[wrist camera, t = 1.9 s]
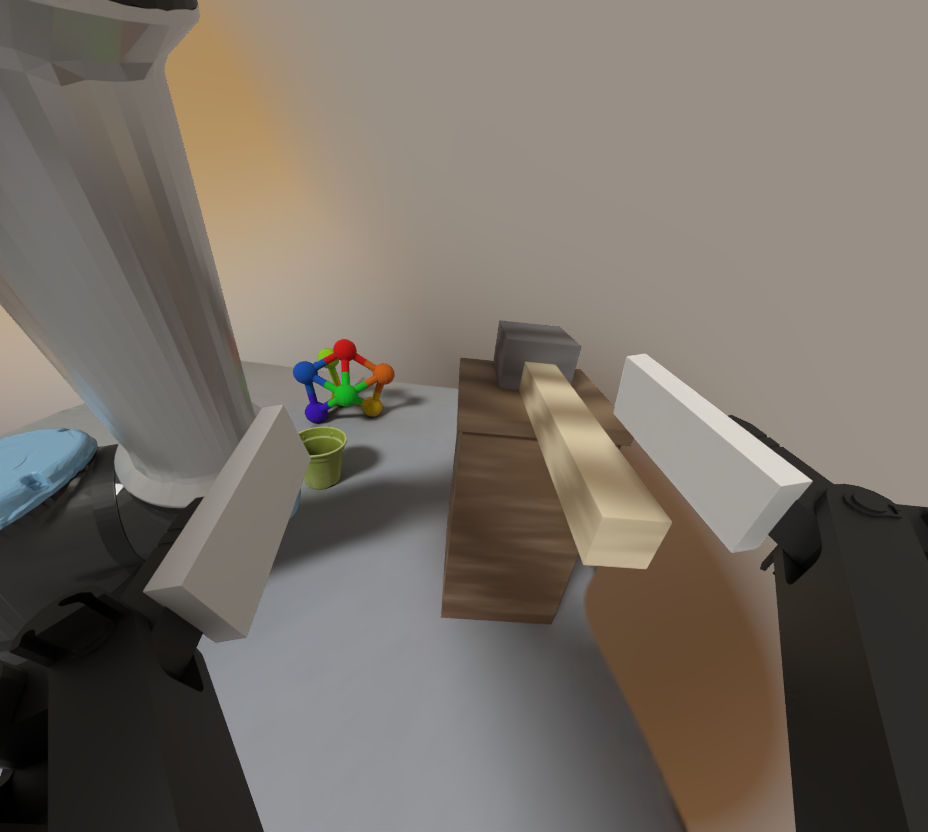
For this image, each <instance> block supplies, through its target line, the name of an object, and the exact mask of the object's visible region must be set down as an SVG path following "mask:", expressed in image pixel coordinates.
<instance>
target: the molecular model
mask: <svg viewBox="0 0 928 832" xmlns="http://www.w3.org/2000/svg"><path fill="white" fill-rule="evenodd" d="M352 359H353V360H355V361H356V362H358V363H360V364H361V365H363V366H365V367H367V368H368V369H370V370H371V371H373V376H372V377H371V378H369V379H367V380H365V381H363V382H362V383H360V384H358V385H356V386H354V387H353V386H351V385H350V377H349V361H351V360H352ZM339 360H341V361H342V362H341V365H342V385H341V383H340V380H339V377H338V374H337V371H336V368H335V366H336V365H337V364H338V362H339ZM323 367H325V368H328V369H329V372H330V375H331V377H332V380H333V383H334V384H332V383H330V382H329V381H327V380H325V379H323V378H322V377H320V376H318V372H317V370H319V369H321V368H323ZM293 375H294V377H295V379H296V380H297V381H298V382H300V383H303V384H305V387H306V391H307V394H308V398H309V401H310V404H309V405H308V406H307V407H306V409H305V415H306V417H307V419H308V420H309V421H311V422H313V423H319V422H322V421H324V420H325V419H326V417H327V415H328V410H329V409H331V408H332V407H334V406H336V405H340V406H345V407H348V406H351V405H353V404H356V405H359V406H362V409H363V411H364V413H365V414H366V415H368V416H372V417H373V416H377V415H379V414H380V413H381V411H382V408H383V406H382V403H381V401H380V400H379V397H380V394H381V391H382V388H383V386H384V385H386V384H389V383H390V382H392V380H393V378H394V370H393V368H392V367H391V366H389V365H388V364H379V365H377V366H376V365H375V364H373V363H371V362H370V361H368V360H367V359H365V358H363V357H362V356H360V355H358V354H357V353H356V347H355V345H354V343H353V342H351V341H349V340H346V339H342V340H339V341H337V342H336V343H335V345H334V348H333V349H330V348H325V349H323V350H321V351H320V352H319V354H318V361H317V362H315V363H313V364H312V363H310V362H307V361H303V362H299V363H298V364H296V366H295V367H294V369H293ZM312 382H315V383H317V384H319V385H321V386H323V387H324V388H326V389H328V390H330V391H331V392H332V395H331V398H332V399H330V400H329V401H327V402H325V403H324V404H323V403H321V402H318V401H317V398H316V394H315V390H314V387H313V383H312ZM376 382H377V384H376V387H375V390H374V393H373V396H372V397H369V398H367V399H366V400H364V399H362V398H360V397H358V394H357V393H359V392H361V391H362V390H364V389H366V388H368V387H369V386H371V385H373V384H374V383H376Z"/></svg>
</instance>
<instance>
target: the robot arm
mask: <svg viewBox="0 0 928 832" xmlns="http://www.w3.org/2000/svg"><path fill="white" fill-rule="evenodd" d="M199 18H200V13H199V7H198V2H197V0H0V305H1V306H2V307H3V308H4V309H5V310H6V312H7V313H8V314H9V315H10V316H11V317H12V318H13V320H14V321H15V322H16V323H17V324H18V325H19V327H20V328H21V329H22V330H23V331H24V332H25V333H26V335H27V336H28V337H29V338H30V339H31V341H32V342H33V343H34V344H35V345H36V346H37V347H38V349H39V350H40V351H41V352H42V353H43V354H44V356H45V357H46V358H47V359H48V360H49V361H50V363H51V364H52V365H53V366H54V367H55V368H56V369H57V371H58V372H59V373H60V374H61V375H62V376H63V378H64V379H65V380H66V381H67V382H68V383H69V385H70V386H71V387H72V388H73V389H74V390H75V392H76V393H77V394H78V395H79V396H80V397H81V398H82V400H83V401H84V402H85V403H86V404H87V406H88V407H89V408H90V409H91V410H92V411H93V412H94V414H95V415H96V416H97V417H98V418H99V419H100V421H101V422H102V423H103V424H104V425H105V426H106V428H107V429H108V430H109V431H110V432H111V433H112V435H113V436H114V437H115V438H116V439H117V440H118V441H119V444H115V445H109V446H102V447H98V445H97V441H96V440H95V439H94V438H92V437H90V436H89V435H88V434H87V433H85V432H83V431H81V430H77V429H71V430H70V429H66V428H52V429H43V430H36V431H30V432H25V433H21V434H16V435H12V436H8V437H4V438H0V768H1V769H3V770H2V773H1V776H0V832H264V830H263V828H262V825H261V822H260V819H259V816H258V813H257V810H256V807H255V805H254V802H253V799H252V796H251V793H250V790H249V787H248V784H247V782H246V779H245V776H244V773H243V770H242V767H241V764H240V761H239V758H238V756H237V753H236V750H235V747H234V744H233V741H232V738H231V735H230V733H229V730H228V727H227V724H226V721H225V718H224V715H223V712H222V710H221V707H220V704H219V701H218V698H217V695H216V692H215V689H214V687H213V684H212V681H211V678H210V675H209V672H208V669H207V666H206V663H205V661H204V658H203V655H202V654H201V652H200V651H199V650H198V649H197V648H196V647H197V645H198V643H199V641H200V639H201V636H202V634H204V635H205V636H207V637H208V638H210V639H211V640H212V641H214V642H215V643H218V642H223V641H229V640H235V639H241V638H246V637H247V635H248V632H249V629H250V626H251V623H252V621H253V618H254V615H255V612H256V610H257V607H258V604H259V601H260V599H261V596H262V593H263V590H264V587H265V585H266V582H267V579H268V576H269V574H270V571H271V568H272V565H273V562H274V560H275V557H276V554H277V551H278V549H279V546H280V543H281V540H282V538H283V535H284V532H285V529H286V526H287V524H288V521H289V519H290V518H291V517H293V516H294V515H295V513H296V512H297V510H298V508H299V505H300V498H301V485H302V482H303V479H304V477H305V474H306V471H307V468H308V465H309V463H310V460H311V457H310V455H309V453H308V451H307V449H306V447H305V446H304V444H303V442H302V440H301V438H300V436H299V434H298V432H297V430H296V428H295V426H294V424H293V422H292V420H291V418H290V416H289V414H288V412H287V410H286V408H285V407H284V405H277V406H270V407H263V408H260V407H259V406H257V405H255V404H254V403H252V402H251V399H250V395H249V391H248V388H247V384H246V380H245V376H244V372H243V369H242V365H241V361H240V358H239V353H238V350H237V346H236V342H235V338H234V334H233V331H232V327H231V323H230V319H229V315H228V312H227V308H226V304H225V300H224V297H223V293H222V289H221V285H220V281H219V278H218V274H217V270H216V266H215V262H214V258H213V255H212V251H211V247H210V243H209V239H208V236H207V232H206V228H205V224H204V220H203V217H202V213H201V209H200V206H199V202H198V198H197V194H196V190H195V187H194V183H193V179H192V175H191V171H190V167H189V164H188V160H187V156H186V152H185V148H184V145H183V141H182V137H181V134H180V129H179V125H178V122H177V118H176V114H175V111H174V107H173V103H172V99H171V95H170V91H169V88H168V84H167V80H166V76H165V72H164V69H165V63H166V60H167V56H168V55H169V53H170V52H171V51H172V50H173V49H174V48H175V47H176V46H177V45H178V43H179V42H180V41H181V40H182V39H183V38H184V37H185V36H186V34H187V33H188V32H189V31H190V30H191V29H192V28H193V27H194V25H195V24H196V23H197V22H198V21H199ZM613 414H614V415H615V416H616V417H617V418H618V419H619V421H620V422H621V423H622V424H623V425H624V427H625V428H626V429H627V430H628V431H629V432H630V434H631V435H632V436H633V437H634V438H635V439H636V441H637V442H638V443H639V444H640V445H641V446H642V448H643V449H644V450H645V451H646V452H647V454H648V455H649V456H650V457H651V458H652V460H653V461H654V462H655V463H656V464H657V465H658V467H659V468H660V469H661V470H662V471H663V473H664V474H665V475H666V476H667V477H668V478H669V480H670V481H671V482H672V483H673V484H674V485H675V487H676V488H677V489H678V490H679V491H680V493H681V494H682V495H683V496H684V497H685V499H686V500H687V501H688V502H689V503H690V504H691V506H692V507H693V508H694V509H695V510H696V511H697V513H698V514H699V515H700V516H701V517H702V519H703V520H704V521H705V522H706V523H707V524H708V526H709V527H710V528H711V529H712V530H713V532H714V533H715V534H716V535H717V536H718V537H719V539H720V540H721V541H722V542H723V543H724V545H725V546H726V547H727V548H728V549H729V550H730V552H732V553H733V552H739V551H745V550H751V549H756V548H758V547H759V546H760V545H761V544H762V542H763V541H764V540H765V539H766V538H767V536H768V535H769V536H770V537H771V538H772V539H773V540H774V541H775V542H776V543H777V544H778V545H777V546H776V547H775V549H774V550H773V551H772V552H771V553H770V554H769V555H768V557H767V558H766V559H765V560H764V561H763V562H762V564H761V567H760V569H761V570H764V571H766V570H767V568H768V567H769V566H770V565H771V564H772V563H774V569H775V571H774V572H773V574H774V575H775V582H776V594H777V605H778V618H779V631H780V643H781V655H782V667H783V679H784V692H785V704H786V716H787V728H788V739H789V752H790V763H791V764H790V765H791V776H792V788H793V801H794V812H795V824H796V832H928V507H919V506H908V505H898V504H895V503H893V502H892V501H891V500H889V499H887V498H885V497H884V496H882V495H880V494H878V493H876V492H874V491H871V490H868V489H865V488H862V487H859V486H854V485H849V484H833V483H831V482H830V481H829V480H827V479H826V478H825V477H823V476H822V475H820V474H819V473H818V472H816V471H815V470H814V469H812V468H811V467H810V466H808V465H807V464H805V463H804V462H803V461H801V460H800V459H799V458H797V457H796V456H795V455H793V454H792V453H790V452H789V451H788V450H786V449H785V448H784V447H780V446H779V444H778V443H777V442H775V441H774V440H773V439H771V438H770V437H769V438H767V436H766V434H764V433H763V432H762V431H760V430H759V429H758V428H756V427H755V426H753V425H752V424H750V423H748V422H746V421H744V420H741V419H739V418H737V417H735V416H733V415H729V416H727V415H725V414H724V413H723V412H721V411H720V410H719V409H717V408H716V407H715V406H713V405H712V404H711V403H710V402H708V401H707V400H706V399H704V398H703V397H702V396H700V395H699V394H698V393H696V392H695V391H694V390H693V389H691V388H690V387H688V386H687V385H686V384H685V383H683V382H682V381H681V380H679V379H678V378H677V377H675V376H674V375H673V374H671V373H670V372H669V371H668V370H666V369H665V368H663V367H662V366H661V365H660V364H658V363H657V362H656V361H654V360H653V359H651V358H650V357H649V356H648V355H647V354H640V355H634V356H627V357H626V361H625V365H624V370H623V374H622V378H621V382H620V387H619V391H618V395H617V400H616V404H615V408H614V412H613Z"/></svg>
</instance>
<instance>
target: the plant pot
mask: <svg viewBox="0 0 928 832" xmlns="http://www.w3.org/2000/svg"><path fill="white" fill-rule="evenodd" d="M298 434H299V436H300V438H301V440H302V442H303V444H304V446H305V447H306V449H307V451H308V453H309V455H310V457H311V460H310V463H309V465H308V468H307V471H306V474H305V477H304V480H305V483H306V484H307V485H308V486H309V487H310V488H313V489H326V488H328V487H329V486H331V485H334V484H336V483H337V482H338V481H339V480H340V477H341V466H342V454H343V450H344V446H345V444H346V442H347V436H346V434H345V433H344V432H343V431H341V430H339V429H337V428H333V427H315V428H309V429H306V430H303V431H301V432H299V433H298Z"/></svg>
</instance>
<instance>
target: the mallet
mask: <svg viewBox="0 0 928 832" xmlns="http://www.w3.org/2000/svg"><path fill="white" fill-rule="evenodd" d="M580 350H581V346H580V345H579V344H578V343H577V342H576V341H575V340H574V339H573V338H572V337H570V336H569V335H568V334H567V333H566V332H565V331H564V330H563V329H562V328H560V327H557V326H548V325H537V324H528V323H518V322H508V321H499V327H498V334H497V341H496V347H495V354H494V361H493V363H494V367H495V372H496V376H497V380H498V384H499V388H501V389H512V390H519V391H520V394H521V396H522V399H523V402H524V405H525V407H526V410H527V413H528V416H529V418H530V421H531V424H532V426H533V429H534V432H535V435H536V437H537V440H538V443H539V446H540V448H541V451H542V454H543V456H544V459H545V462H546V465H547V467H548V470H549V473H550V475H551V478H552V481H553V484H554V486H555V489H556V492H557V495H558V497H559V500H560V503H561V505H562V508H563V511H564V514H565V516H566V519H567V522H568V525H569V527H570V530H571V533H572V535H573V538H574V541H575V544H576V546H577V549H578V552H579V554H580V557H581V560H582V563H583V565H594V566H609V567H623V568H637V569H647V567H648V565H649V564H650V562H651V560H652V558H653V556H654V554H655V553H656V551H657V549H658V547H659V546H660V544H661V542H662V540H663V538H664V536H665V535H666V533H667V531H668V529H669V527H670V525H671V524H672V521H671V520H670V519H669V517H668V516H667V515H666V513H665V512H664V510H663V509H662V508H661V507H660V505H659V504H658V502H657V501H656V500H655V498H654V497H653V496H652V494H651V493H650V492H649V490H648V489H647V488H646V486H645V485H644V483H643V482H642V481H641V480H640V478H639V477H638V476H637V474H636V473H635V472H634V470H633V469H632V467H631V466H630V465H629V463H628V462H627V460H626V459H625V458H624V456H623V455H622V454H621V452H620V451H619V450H618V448H617V447H616V446H615V444H614V443H613V442H612V440H611V439H610V438H609V436H608V435H607V433H606V432H605V431H604V429H603V428H602V427H601V425H600V424H599V423H598V421H597V420H596V419H595V417H594V416H593V415H592V413H591V412H590V410H589V409H588V408H587V406H586V405H585V404H584V402H583V401H582V400H581V398H580V397H579V396H578V394H577V393H576V392H575V390H574V389H573V388H572V386H571V382H572V379H573V375H574V372H575V368H576V364H577V361H578V357H579V353H580Z"/></svg>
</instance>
